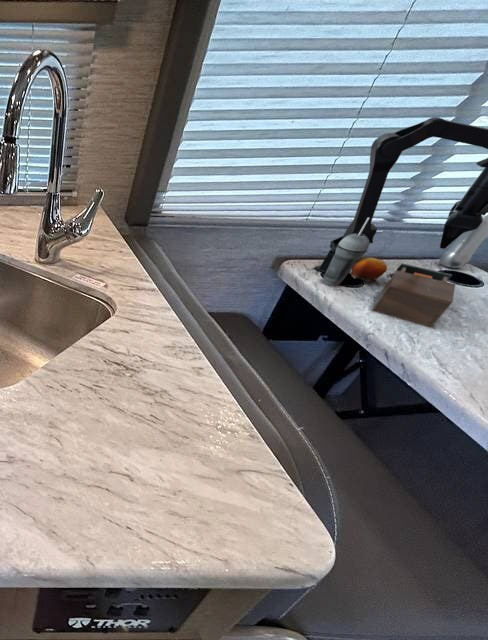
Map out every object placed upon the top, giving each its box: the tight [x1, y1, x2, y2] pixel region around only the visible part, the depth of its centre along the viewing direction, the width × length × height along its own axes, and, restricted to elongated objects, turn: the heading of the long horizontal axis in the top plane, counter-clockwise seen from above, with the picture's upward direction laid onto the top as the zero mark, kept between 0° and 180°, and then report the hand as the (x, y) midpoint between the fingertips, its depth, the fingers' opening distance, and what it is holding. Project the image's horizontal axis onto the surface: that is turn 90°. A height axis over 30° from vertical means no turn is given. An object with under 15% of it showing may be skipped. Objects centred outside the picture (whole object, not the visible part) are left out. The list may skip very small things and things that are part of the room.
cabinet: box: [372, 270, 456, 328], centre depth 108 cm, size 14×13×8 cm
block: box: [414, 272, 433, 279], centre depth 114 cm, size 4×4×4 cm
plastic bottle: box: [438, 213, 488, 269], centre depth 124 cm, size 6×7×20 cm
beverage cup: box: [321, 218, 370, 287], centre depth 117 cm, size 7×7×20 cm
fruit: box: [350, 256, 388, 284], centre depth 123 cm, size 8×8×8 cm
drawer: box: [392, 262, 453, 282], centre depth 115 cm, size 17×11×6 cm
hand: (443, 243), depth 113 cm, fingers open, 9 cm apart
